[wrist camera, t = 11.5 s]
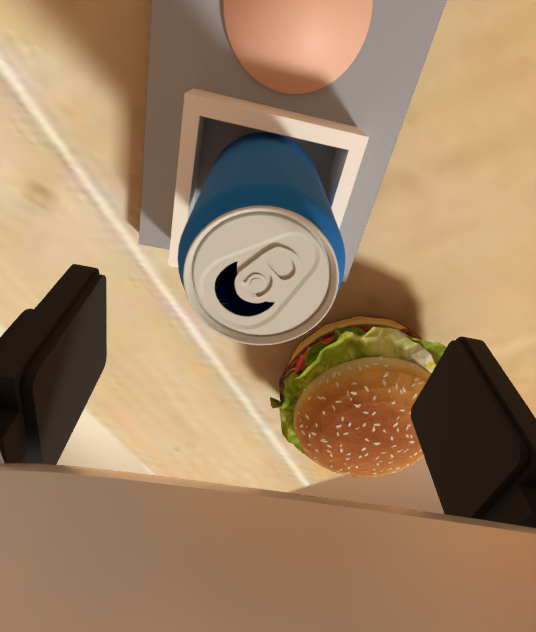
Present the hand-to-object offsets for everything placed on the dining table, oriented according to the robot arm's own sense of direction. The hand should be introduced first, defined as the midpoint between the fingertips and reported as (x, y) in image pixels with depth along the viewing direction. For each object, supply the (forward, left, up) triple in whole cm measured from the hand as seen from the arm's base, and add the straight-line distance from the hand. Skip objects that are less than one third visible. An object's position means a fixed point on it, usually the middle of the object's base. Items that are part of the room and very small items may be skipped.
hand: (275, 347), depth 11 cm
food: (+14, +11, -18) cm, 25 cm away
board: (-3, 0, -18) cm, 18 cm away
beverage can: (0, 0, -16) cm, 16 cm away
